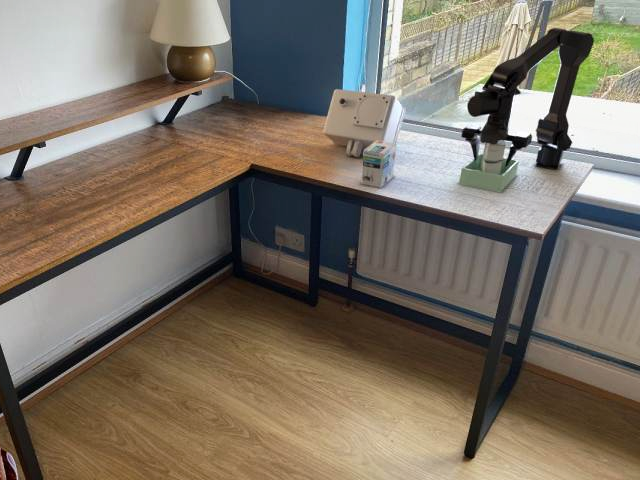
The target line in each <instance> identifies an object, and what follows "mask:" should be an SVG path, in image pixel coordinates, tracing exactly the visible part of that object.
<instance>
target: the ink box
mask: <svg viewBox="0 0 640 480" xmlns="http://www.w3.org/2000/svg"><path fill="white" fill-rule="evenodd" d="M505 149H506V142H505V140H504V141H503V140H500V141H499V140H498V143H497V144H495V145H492V144H490V143H484V148H483V153H482V154H483V159H482V164H481V169H480V171H482V172H487V173H492V174H497V175H500V171H501V166H502V160H503V158H504V156H505Z"/></svg>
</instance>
